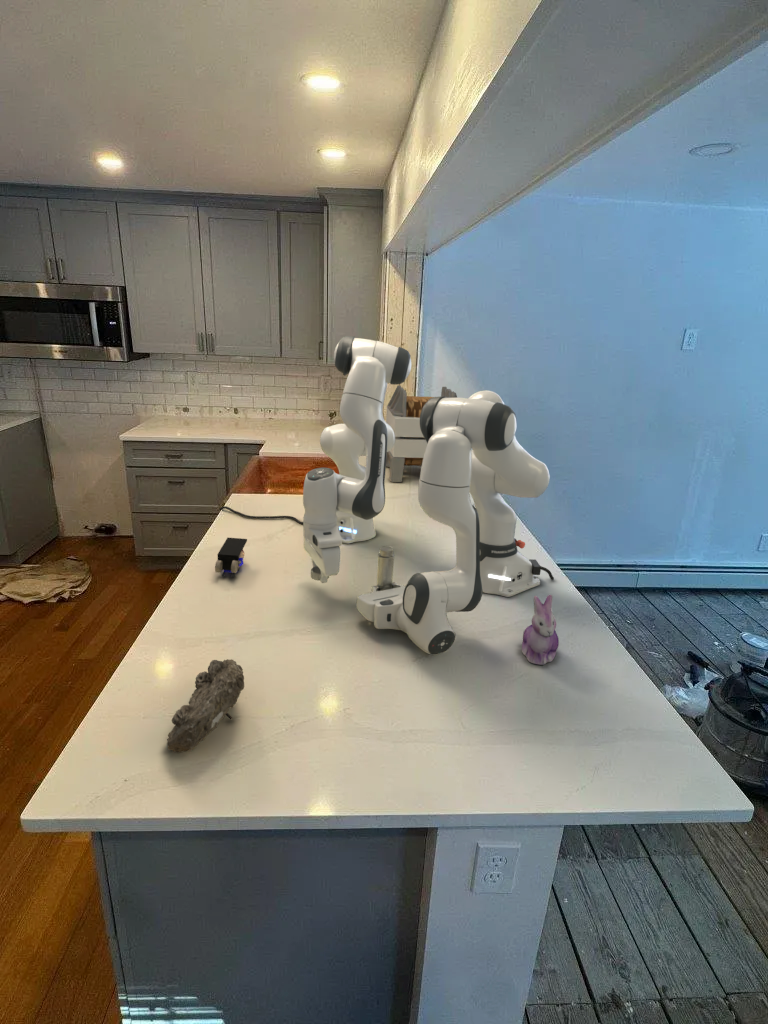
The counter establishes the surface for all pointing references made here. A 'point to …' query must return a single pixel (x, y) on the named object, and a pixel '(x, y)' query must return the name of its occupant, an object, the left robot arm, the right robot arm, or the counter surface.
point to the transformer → (407, 431)
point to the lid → (316, 573)
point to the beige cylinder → (385, 568)
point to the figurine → (541, 634)
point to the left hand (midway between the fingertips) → (320, 577)
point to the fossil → (206, 705)
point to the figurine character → (230, 556)
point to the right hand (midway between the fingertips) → (382, 586)
